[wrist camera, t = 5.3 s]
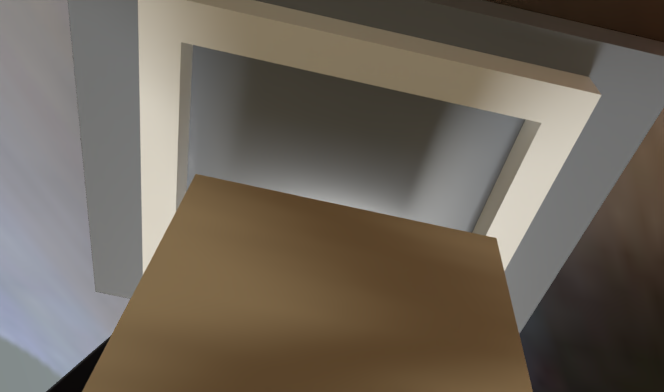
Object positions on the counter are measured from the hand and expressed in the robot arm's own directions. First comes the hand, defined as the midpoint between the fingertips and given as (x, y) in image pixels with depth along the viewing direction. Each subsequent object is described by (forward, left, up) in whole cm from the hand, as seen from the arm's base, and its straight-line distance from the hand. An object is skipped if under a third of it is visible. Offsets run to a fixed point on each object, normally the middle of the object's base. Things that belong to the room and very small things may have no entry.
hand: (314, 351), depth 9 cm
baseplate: (0, 0, -5) cm, 5 cm away
